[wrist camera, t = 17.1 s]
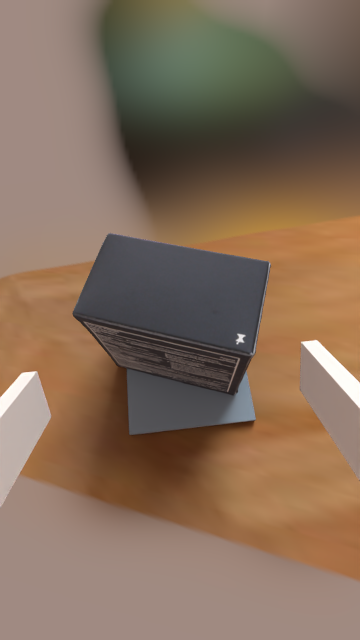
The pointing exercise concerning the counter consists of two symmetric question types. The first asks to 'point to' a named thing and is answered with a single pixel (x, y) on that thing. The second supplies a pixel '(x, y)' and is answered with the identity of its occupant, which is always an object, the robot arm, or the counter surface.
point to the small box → (175, 310)
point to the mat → (182, 404)
